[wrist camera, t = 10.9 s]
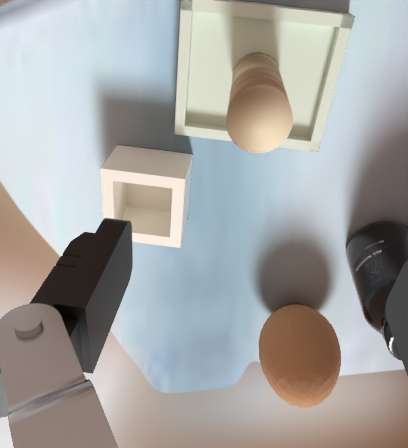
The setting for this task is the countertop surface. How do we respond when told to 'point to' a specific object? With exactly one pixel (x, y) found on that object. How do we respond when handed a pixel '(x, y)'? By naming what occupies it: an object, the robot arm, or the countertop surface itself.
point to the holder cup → (148, 192)
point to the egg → (300, 355)
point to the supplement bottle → (378, 271)
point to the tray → (265, 43)
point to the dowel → (258, 105)
